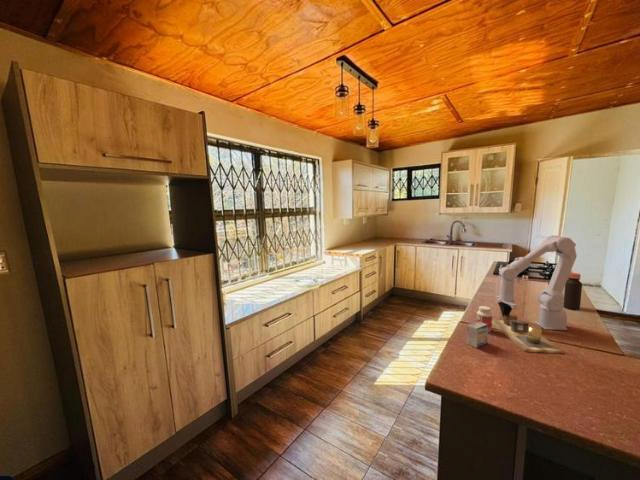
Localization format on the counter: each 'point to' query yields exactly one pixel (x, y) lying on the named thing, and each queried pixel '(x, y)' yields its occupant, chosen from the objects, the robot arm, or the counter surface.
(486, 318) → the pill bottle
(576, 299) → the vinegar
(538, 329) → the cylinder
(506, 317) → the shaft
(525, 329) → the clamp jig
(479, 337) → the medicine box
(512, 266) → the robot arm
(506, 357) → the counter surface
